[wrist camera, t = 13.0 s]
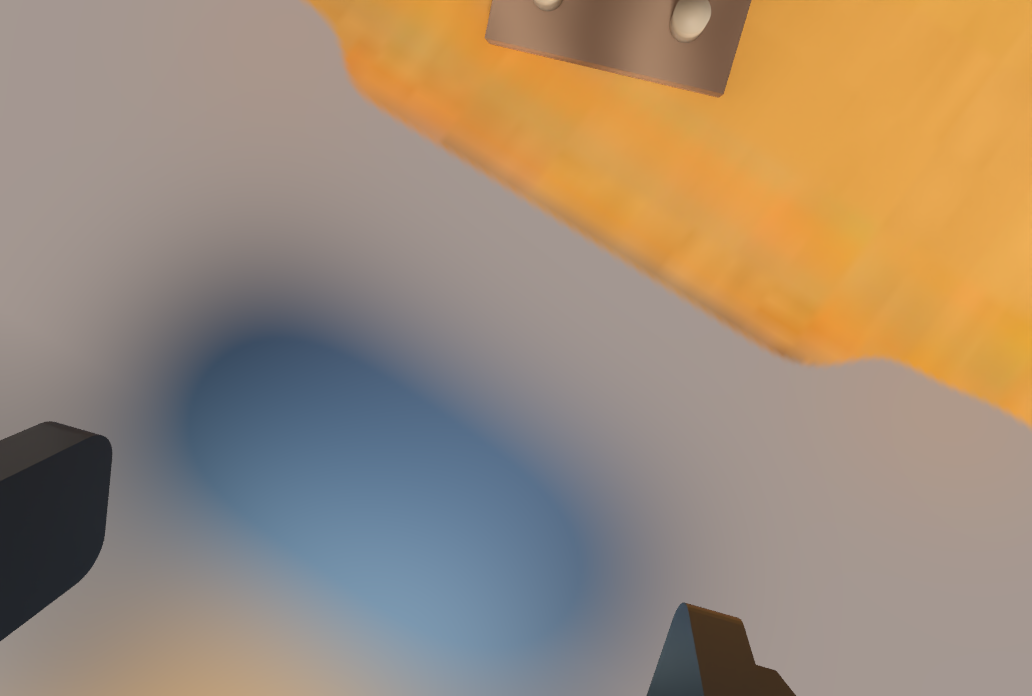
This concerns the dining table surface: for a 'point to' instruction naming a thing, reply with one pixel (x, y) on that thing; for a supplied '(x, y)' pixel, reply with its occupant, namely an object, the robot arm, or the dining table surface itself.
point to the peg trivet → (629, 36)
